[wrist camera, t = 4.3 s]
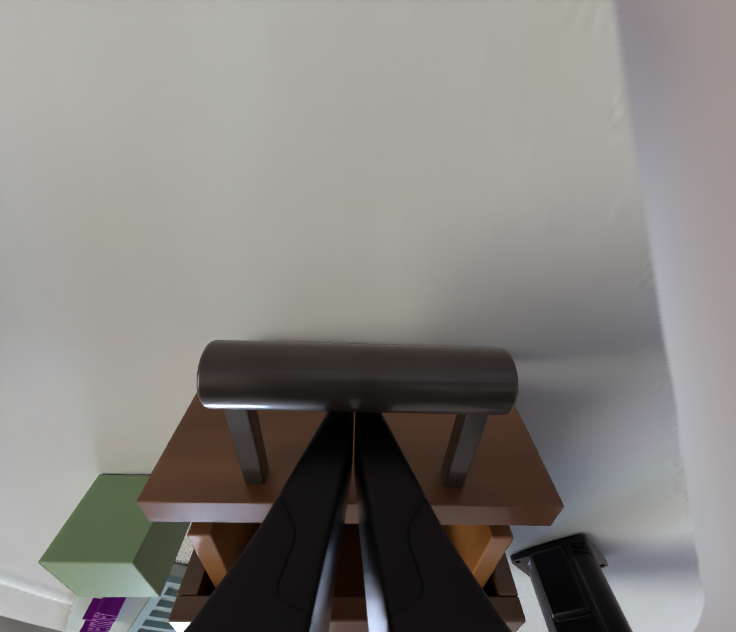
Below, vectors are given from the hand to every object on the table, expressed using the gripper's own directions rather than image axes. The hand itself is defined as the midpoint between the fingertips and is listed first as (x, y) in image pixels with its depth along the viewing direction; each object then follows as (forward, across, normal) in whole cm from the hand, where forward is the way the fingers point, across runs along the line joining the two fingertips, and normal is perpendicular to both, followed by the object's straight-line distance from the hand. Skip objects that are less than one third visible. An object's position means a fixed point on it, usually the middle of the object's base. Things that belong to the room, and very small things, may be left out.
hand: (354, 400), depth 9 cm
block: (+6, +14, +17) cm, 23 cm away
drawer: (+5, 0, +7) cm, 9 cm away
